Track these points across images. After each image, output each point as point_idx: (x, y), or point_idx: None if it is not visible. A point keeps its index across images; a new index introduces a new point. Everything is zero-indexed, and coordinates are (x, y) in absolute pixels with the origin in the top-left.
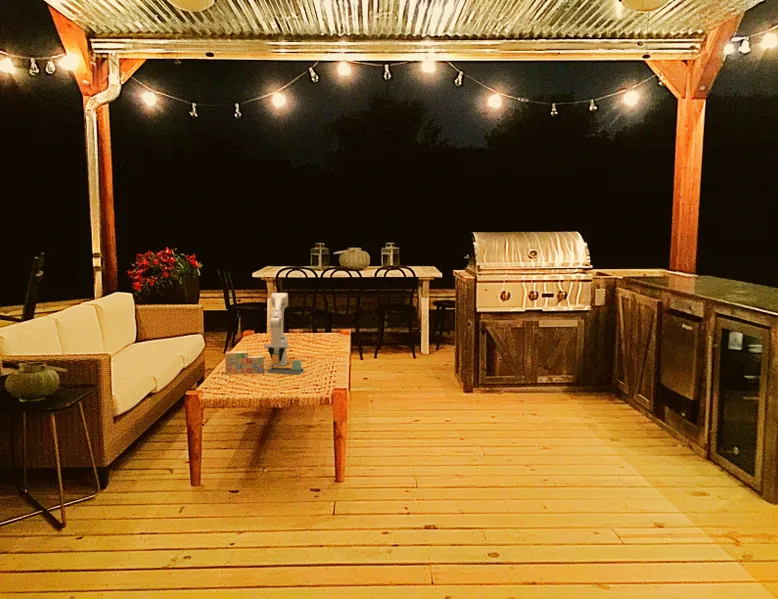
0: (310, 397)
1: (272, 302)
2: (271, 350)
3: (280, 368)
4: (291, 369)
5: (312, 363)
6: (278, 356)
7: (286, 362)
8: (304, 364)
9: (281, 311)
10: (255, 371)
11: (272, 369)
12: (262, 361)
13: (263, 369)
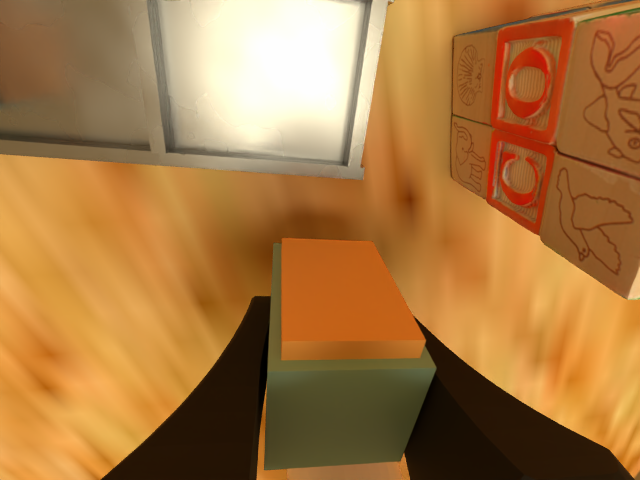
0: None
1: None
2: (514, 470)
3: (229, 155)
4: (45, 138)
5: (70, 462)
6: (275, 333)
7: None
8: (120, 432)
9: None
10: (588, 4)
11: (346, 140)
12: (622, 19)
13: (482, 33)
